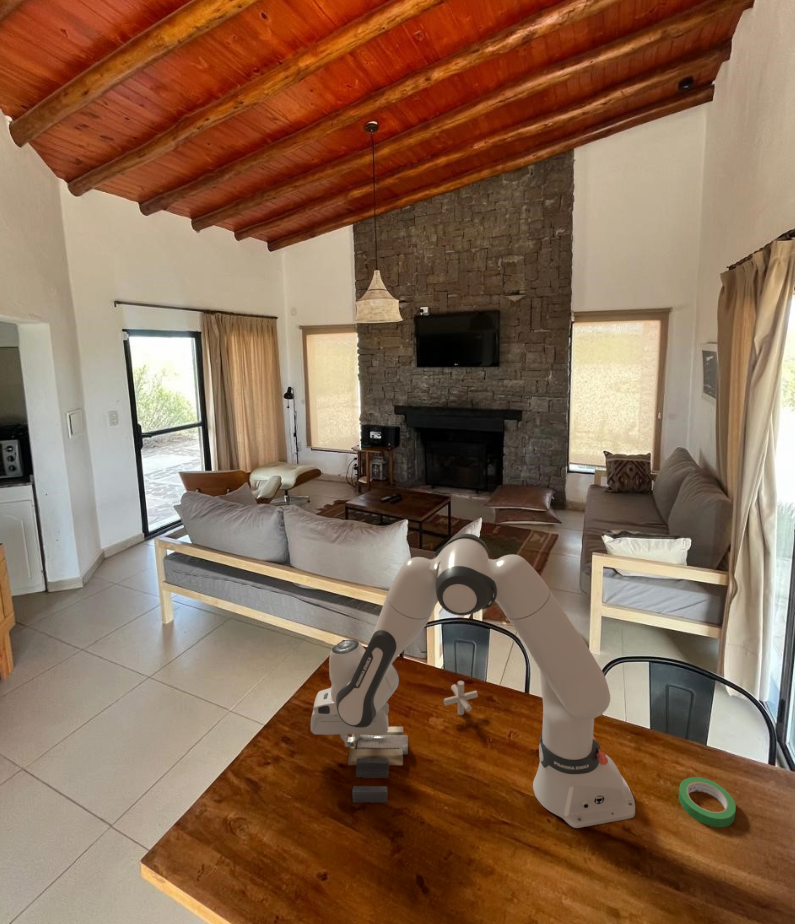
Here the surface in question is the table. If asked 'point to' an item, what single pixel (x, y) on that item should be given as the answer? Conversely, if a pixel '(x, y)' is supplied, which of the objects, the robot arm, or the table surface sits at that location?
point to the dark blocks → (371, 770)
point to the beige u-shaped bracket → (379, 750)
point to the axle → (383, 742)
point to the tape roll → (702, 814)
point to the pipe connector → (461, 698)
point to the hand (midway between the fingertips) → (351, 745)
